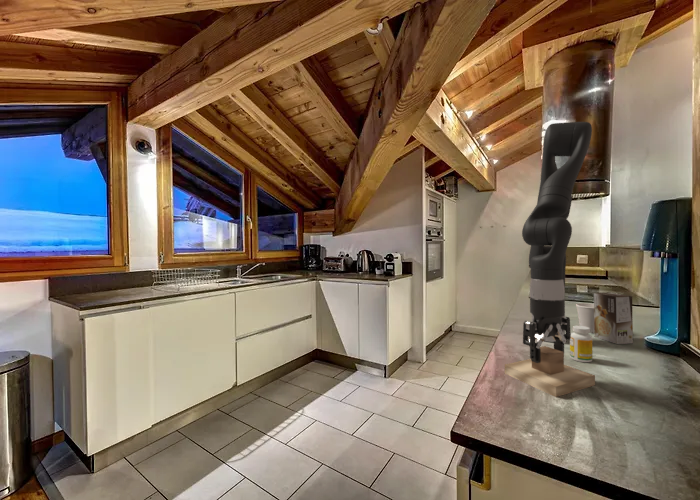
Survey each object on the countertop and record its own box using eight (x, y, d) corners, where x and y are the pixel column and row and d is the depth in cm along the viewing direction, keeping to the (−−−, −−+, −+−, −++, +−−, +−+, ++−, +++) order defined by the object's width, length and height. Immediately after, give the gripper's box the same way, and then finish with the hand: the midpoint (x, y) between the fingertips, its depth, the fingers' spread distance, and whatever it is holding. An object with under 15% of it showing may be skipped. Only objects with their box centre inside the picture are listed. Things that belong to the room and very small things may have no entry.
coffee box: (634, 343, 104) (634, 296, 104) (616, 344, 104) (616, 296, 103) (609, 335, 113) (609, 291, 113) (593, 336, 113) (592, 292, 112)
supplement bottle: (566, 358, 93) (565, 326, 93) (576, 354, 95) (576, 323, 95) (586, 364, 88) (585, 330, 88) (596, 360, 91) (596, 328, 90)
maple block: (504, 375, 84) (504, 364, 83) (541, 366, 89) (540, 356, 89) (555, 399, 71) (555, 386, 70) (595, 387, 76) (595, 375, 76)
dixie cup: (609, 334, 115) (609, 307, 115) (586, 334, 115) (586, 307, 115) (592, 327, 123) (591, 302, 123) (570, 328, 124) (570, 303, 123)
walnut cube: (531, 367, 81) (531, 348, 81) (544, 364, 83) (544, 345, 83) (550, 375, 76) (550, 355, 76) (563, 371, 78) (563, 351, 78)
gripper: (551, 292, 85) (552, 350, 86) (513, 296, 80) (514, 358, 80) (580, 296, 78) (581, 359, 79) (540, 301, 73) (541, 369, 73)
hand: (547, 359), depth 79 cm, fingers open, 8 cm apart
